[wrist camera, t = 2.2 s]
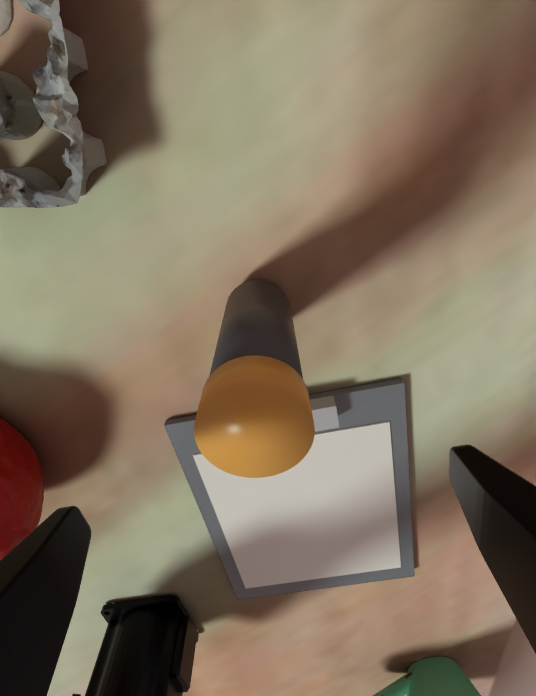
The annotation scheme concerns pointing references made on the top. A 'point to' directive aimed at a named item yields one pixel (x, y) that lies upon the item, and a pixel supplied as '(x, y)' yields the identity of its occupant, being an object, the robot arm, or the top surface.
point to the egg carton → (46, 116)
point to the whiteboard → (315, 500)
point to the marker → (255, 388)
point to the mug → (432, 680)
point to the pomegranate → (18, 488)
